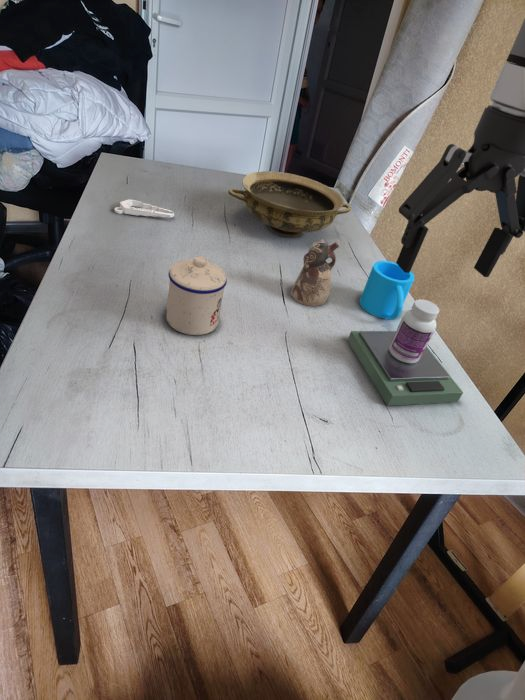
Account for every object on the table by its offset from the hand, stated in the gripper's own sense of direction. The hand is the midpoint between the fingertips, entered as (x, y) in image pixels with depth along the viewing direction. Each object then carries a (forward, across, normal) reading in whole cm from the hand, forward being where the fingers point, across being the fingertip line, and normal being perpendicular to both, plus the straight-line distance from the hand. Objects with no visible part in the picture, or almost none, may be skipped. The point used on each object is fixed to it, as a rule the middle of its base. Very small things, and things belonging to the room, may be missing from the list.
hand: (442, 270), depth 69 cm
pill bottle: (+16, -1, -1) cm, 16 cm away
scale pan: (+17, -1, -1) cm, 17 cm away
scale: (+19, -1, 0) cm, 19 cm away
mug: (+19, -6, -17) cm, 26 cm away
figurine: (+19, +8, -22) cm, 30 cm away
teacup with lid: (+19, +32, -15) cm, 40 cm away
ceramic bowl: (+19, +4, -52) cm, 55 cm away
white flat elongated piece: (+19, +37, -55) cm, 69 cm away
